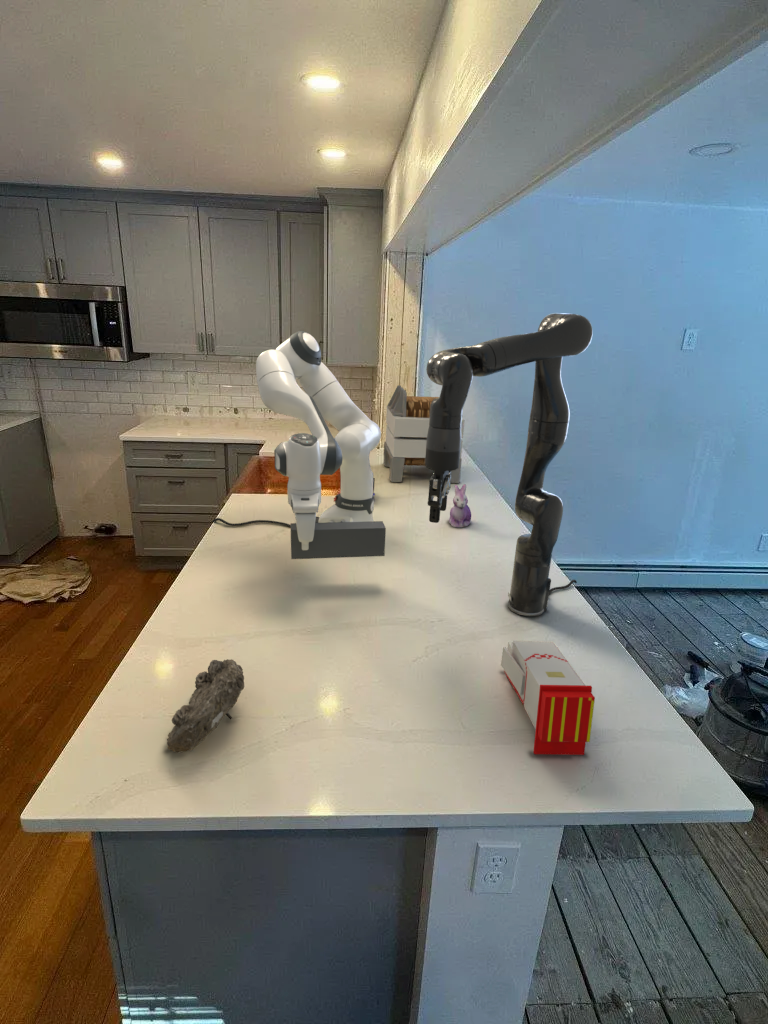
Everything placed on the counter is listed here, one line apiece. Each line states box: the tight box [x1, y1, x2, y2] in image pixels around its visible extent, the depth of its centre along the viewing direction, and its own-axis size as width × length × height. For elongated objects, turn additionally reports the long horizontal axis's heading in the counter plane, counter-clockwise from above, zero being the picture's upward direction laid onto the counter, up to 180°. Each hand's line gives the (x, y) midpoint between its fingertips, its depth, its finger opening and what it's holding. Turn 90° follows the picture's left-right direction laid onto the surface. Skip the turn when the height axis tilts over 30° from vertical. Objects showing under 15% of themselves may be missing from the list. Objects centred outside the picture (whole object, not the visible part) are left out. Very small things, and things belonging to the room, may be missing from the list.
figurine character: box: [373, 477, 376, 497], centre depth 233 cm, size 7×8×15 cm
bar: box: [289, 520, 387, 560], centre depth 156 cm, size 26×5×8 cm, turn 100°
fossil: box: [166, 658, 245, 754], centre depth 106 cm, size 22×10×15 cm
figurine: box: [448, 483, 472, 528], centre depth 209 cm, size 9×10×15 cm
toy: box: [500, 640, 596, 756], centre depth 114 cm, size 12×13×30 cm
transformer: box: [383, 384, 465, 484], centre depth 268 cm, size 34×33×41 cm
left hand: (304, 544), depth 154 cm, fingers closed on bar, 5 cm apart
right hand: (437, 515), depth 130 cm, fingers open, 8 cm apart
